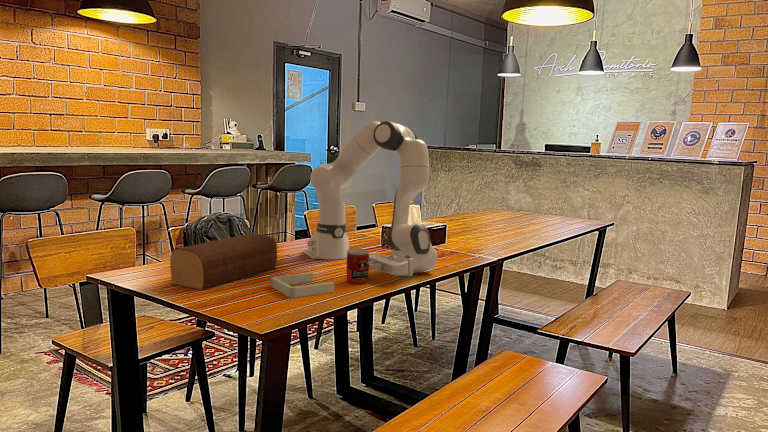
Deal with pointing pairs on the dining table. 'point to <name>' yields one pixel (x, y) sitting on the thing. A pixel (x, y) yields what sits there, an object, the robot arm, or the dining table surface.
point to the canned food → (357, 266)
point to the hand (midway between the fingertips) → (367, 266)
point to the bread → (222, 261)
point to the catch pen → (285, 281)
